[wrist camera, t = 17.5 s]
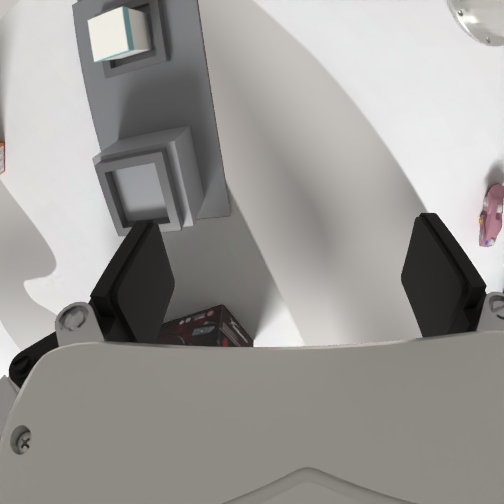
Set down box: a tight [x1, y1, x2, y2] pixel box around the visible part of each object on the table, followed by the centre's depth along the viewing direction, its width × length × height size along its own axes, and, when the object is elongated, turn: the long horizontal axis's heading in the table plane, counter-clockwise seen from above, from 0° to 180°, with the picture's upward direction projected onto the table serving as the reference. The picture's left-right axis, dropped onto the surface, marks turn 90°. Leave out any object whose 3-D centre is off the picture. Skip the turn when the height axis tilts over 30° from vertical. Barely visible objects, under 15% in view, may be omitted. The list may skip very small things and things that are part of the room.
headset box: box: [156, 305, 253, 347], centre depth 46 cm, size 25×12×33 cm, turn 118°
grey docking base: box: [72, 0, 231, 236], centre depth 29 cm, size 34×16×10 cm, turn 7°
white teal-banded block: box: [88, 6, 153, 62], centre depth 24 cm, size 5×4×7 cm
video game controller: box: [479, 184, 504, 247], centre depth 37 cm, size 10×5×7 cm, turn 11°
